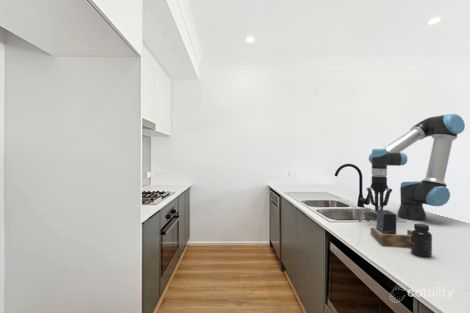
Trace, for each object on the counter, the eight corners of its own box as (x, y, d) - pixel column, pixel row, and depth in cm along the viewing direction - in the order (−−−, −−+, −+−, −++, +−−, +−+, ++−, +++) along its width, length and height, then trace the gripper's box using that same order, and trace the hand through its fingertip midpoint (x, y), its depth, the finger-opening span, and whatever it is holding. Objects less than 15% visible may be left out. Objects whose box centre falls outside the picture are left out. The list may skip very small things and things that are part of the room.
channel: (410, 236, 126) (410, 226, 126) (428, 249, 109) (428, 237, 109) (370, 233, 130) (370, 224, 130) (382, 245, 113) (382, 234, 113)
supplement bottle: (407, 252, 105) (407, 223, 105) (418, 250, 107) (418, 221, 107) (424, 259, 98) (424, 228, 98) (436, 256, 101) (436, 226, 101)
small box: (397, 235, 128) (397, 214, 128) (382, 234, 129) (382, 213, 129) (389, 229, 138) (389, 209, 138) (375, 228, 140) (375, 209, 140)
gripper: (368, 176, 142) (368, 218, 142) (394, 176, 139) (394, 220, 139) (364, 175, 149) (364, 215, 150) (389, 175, 147) (389, 217, 147)
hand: (378, 217), depth 144 cm, fingers closed
